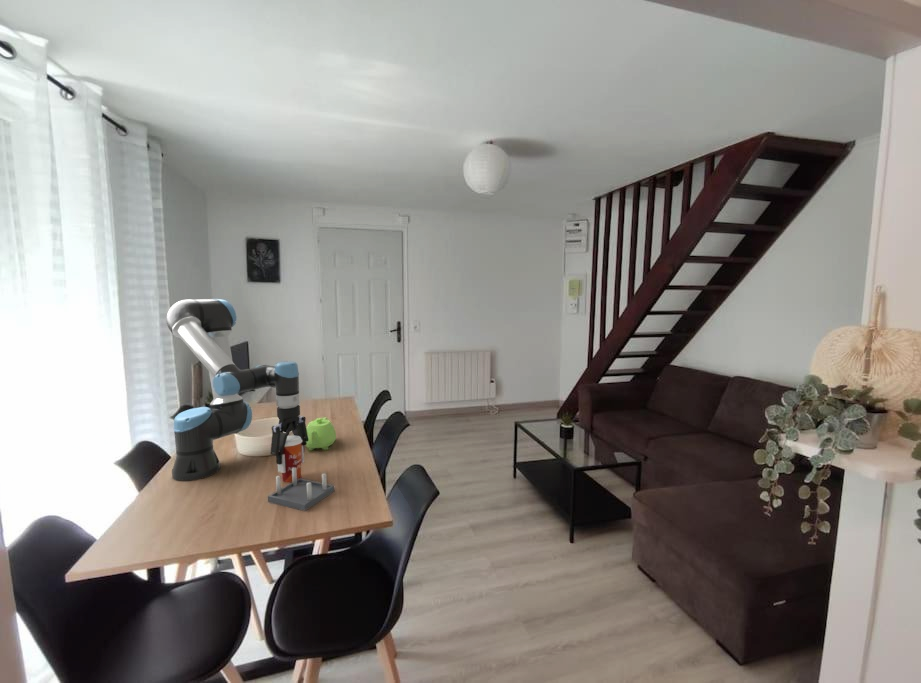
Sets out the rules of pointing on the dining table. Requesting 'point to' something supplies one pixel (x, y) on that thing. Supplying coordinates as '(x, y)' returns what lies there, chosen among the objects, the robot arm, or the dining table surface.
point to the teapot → (320, 434)
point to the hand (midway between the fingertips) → (291, 467)
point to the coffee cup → (292, 457)
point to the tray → (300, 492)
